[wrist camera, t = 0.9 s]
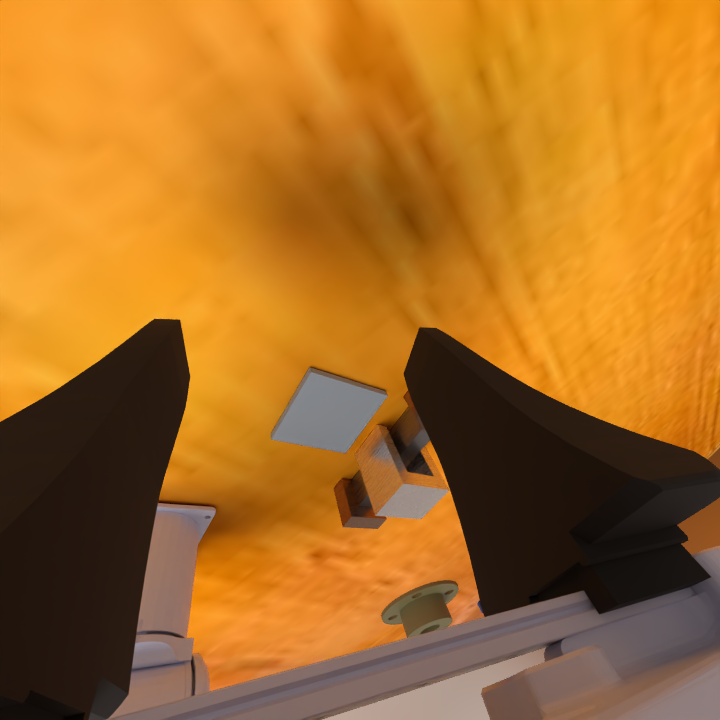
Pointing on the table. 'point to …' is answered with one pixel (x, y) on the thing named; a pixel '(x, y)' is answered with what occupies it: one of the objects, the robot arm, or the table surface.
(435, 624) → the flange
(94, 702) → the robot arm
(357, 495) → the rail
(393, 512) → the bracket
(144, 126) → the table surface
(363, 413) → the mat
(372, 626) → the table surface
